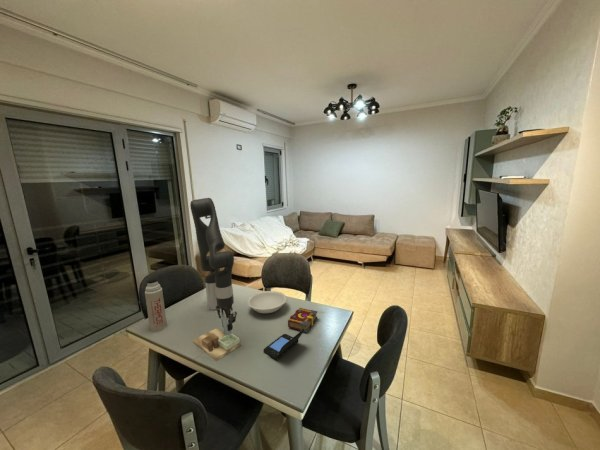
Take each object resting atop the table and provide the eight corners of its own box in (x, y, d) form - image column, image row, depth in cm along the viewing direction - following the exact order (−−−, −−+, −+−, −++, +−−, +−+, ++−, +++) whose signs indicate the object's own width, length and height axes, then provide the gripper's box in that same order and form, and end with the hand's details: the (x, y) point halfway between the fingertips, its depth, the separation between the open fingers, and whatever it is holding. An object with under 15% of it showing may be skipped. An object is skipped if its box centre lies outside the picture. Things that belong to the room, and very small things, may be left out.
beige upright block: (213, 338, 120) (212, 333, 119) (219, 342, 117) (218, 337, 116) (202, 345, 115) (201, 339, 115) (207, 349, 112) (207, 343, 112)
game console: (284, 335, 123) (283, 319, 122) (306, 345, 115) (305, 328, 114) (262, 352, 111) (260, 334, 110) (284, 365, 103) (283, 345, 102)
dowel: (228, 329, 117) (226, 310, 116) (233, 332, 115) (231, 312, 113) (222, 333, 114) (220, 313, 113) (227, 336, 112) (225, 316, 111)
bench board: (216, 329, 130) (215, 321, 129) (240, 345, 116) (240, 336, 115) (192, 342, 120) (191, 333, 119) (216, 360, 106) (215, 351, 106)
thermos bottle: (166, 330, 131) (160, 280, 126) (149, 334, 127) (142, 284, 122) (167, 323, 138) (161, 276, 133) (150, 327, 134) (144, 279, 129)
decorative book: (287, 328, 130) (287, 319, 129) (300, 313, 144) (300, 305, 143) (306, 333, 125) (306, 324, 124) (318, 317, 139) (318, 309, 138)
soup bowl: (270, 324, 133) (270, 313, 132) (239, 313, 146) (238, 303, 145) (294, 305, 153) (294, 295, 152) (265, 297, 166) (264, 288, 165)
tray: (231, 337, 121) (230, 332, 120) (239, 343, 116) (239, 338, 116) (218, 344, 115) (217, 340, 115) (226, 351, 111) (226, 346, 110)
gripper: (240, 295, 110) (243, 330, 113) (223, 287, 119) (225, 320, 122) (226, 301, 104) (229, 338, 107) (209, 293, 113) (212, 327, 116)
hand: (227, 328), depth 114 cm, fingers closed on dowel, 3 cm apart
